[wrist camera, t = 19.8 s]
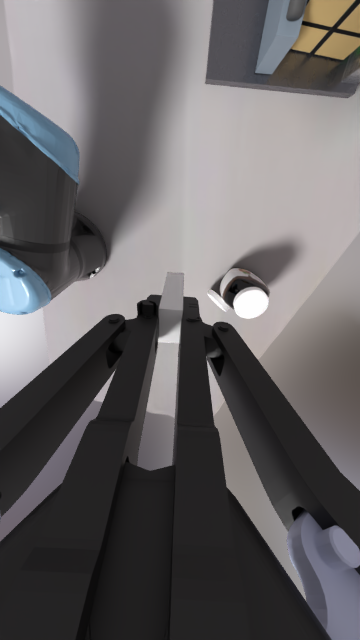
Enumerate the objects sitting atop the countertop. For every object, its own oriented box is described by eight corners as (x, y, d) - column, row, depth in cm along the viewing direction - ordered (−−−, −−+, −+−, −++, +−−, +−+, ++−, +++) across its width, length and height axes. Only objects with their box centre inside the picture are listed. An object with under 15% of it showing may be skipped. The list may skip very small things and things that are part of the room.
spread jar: (264, 276, 47) (284, 297, 38) (239, 312, 53) (251, 338, 44) (221, 258, 45) (231, 275, 35) (201, 297, 51) (204, 321, 41)
